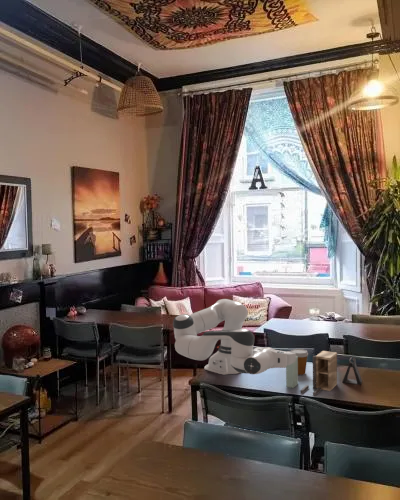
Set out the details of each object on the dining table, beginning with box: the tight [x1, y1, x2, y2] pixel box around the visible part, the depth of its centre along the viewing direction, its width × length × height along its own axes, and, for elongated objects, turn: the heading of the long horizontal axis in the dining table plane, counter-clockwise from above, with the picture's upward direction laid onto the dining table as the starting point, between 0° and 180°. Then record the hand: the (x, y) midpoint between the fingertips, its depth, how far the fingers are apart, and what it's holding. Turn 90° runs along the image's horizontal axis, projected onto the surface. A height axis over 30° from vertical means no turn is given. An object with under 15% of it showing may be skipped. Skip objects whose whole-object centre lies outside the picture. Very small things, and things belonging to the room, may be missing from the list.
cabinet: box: [300, 350, 338, 397], centre depth 220 cm, size 11×21×16 cm, turn 147°
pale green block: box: [285, 356, 299, 389], centre depth 225 cm, size 4×7×14 cm, turn 147°
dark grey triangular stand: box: [342, 356, 363, 386], centre depth 229 cm, size 9×6×12 cm, turn 66°
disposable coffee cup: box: [290, 348, 309, 376], centre depth 244 cm, size 10×10×12 cm
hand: (280, 351), depth 214 cm, fingers open, 8 cm apart
